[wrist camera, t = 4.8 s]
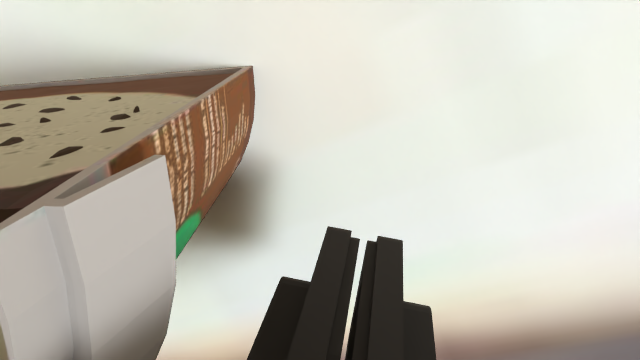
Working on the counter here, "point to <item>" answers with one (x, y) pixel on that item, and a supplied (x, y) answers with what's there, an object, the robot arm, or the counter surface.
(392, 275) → the robot arm
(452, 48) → the counter surface
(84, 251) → the food container
